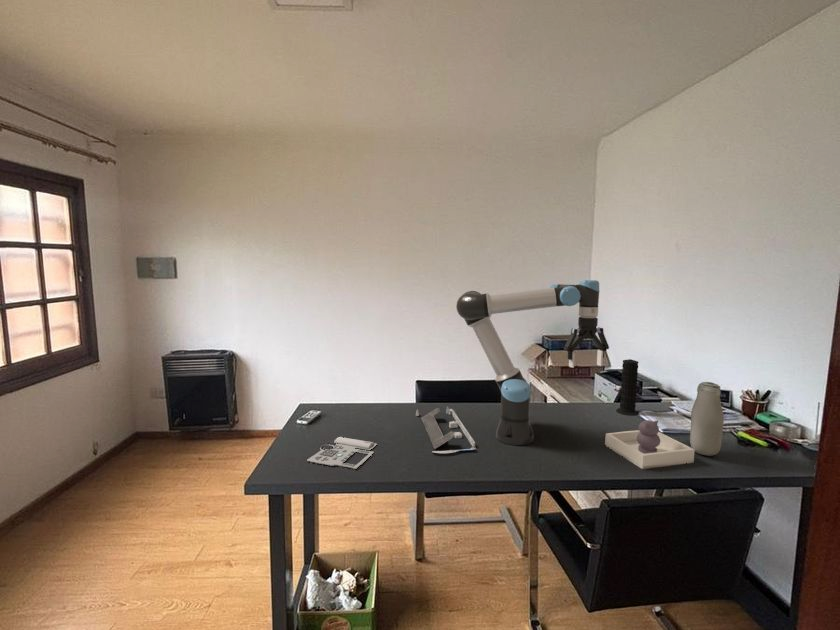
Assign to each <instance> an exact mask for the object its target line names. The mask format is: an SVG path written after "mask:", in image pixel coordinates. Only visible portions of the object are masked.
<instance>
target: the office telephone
mask: <svg viewBox="0 0 840 630" xmlns="http://www.w3.org/2000/svg"><path fill="white" fill-rule="evenodd" d="M333 441H334V443H336V445H335V446H334V447H333V449H330V450H329V449H325V450H322V449H321V450H319V451H318V452H316V453H314V455H312V456H310V457H309V458H308V459H306V460H307V461H310V462H315V463H319V464H325V465H330V466H334V465H338V466H343V467H349V468H353V469H357V468H358V467H359V466H360V465H362V464H363V463H364V462H365V461H366V460H367V459H368V458H369V457H370V456H371V457H373V455H374V454H375V452H374V451H373V450H374V449H375V448H376V447H377V446H378V443H376V442H373V441H366V440H361V439H356V438H355V439H354V438H348V437H344V438H343V436H339V437H337V438H335V439H334V440H333ZM337 443H338V444H337ZM376 445H377V446H376ZM375 446H376V447H375ZM374 447H375V448H374ZM355 448H359V449H355ZM373 448H374V449H373ZM360 449H365V450H360ZM371 449H373V450H371ZM366 450H371V451H366ZM355 452H359V453H363V454H362V455H364V454H368V455H365V456H364V458H362V459H361V460H360V461H359V462H357V464H353V463H349V462H348V463H347V461H348V460H349V459H350V458H351V457H350V456H351V455H353V454H354V453H355ZM373 453H374V454H373ZM355 454H356V453H355ZM355 454H354V455H355ZM372 454H373V455H372ZM354 455H353V456H354ZM349 457H350V458H349ZM371 457H370V458H371ZM348 458H349V459H348ZM370 458H369V459H370ZM347 459H348V460H347ZM369 459H368V460H369ZM346 460H347V461H346ZM368 460H367V461H368ZM345 461H346V462H345ZM367 461H366V462H367ZM343 462H345V463H343ZM366 462H365V463H366ZM365 463H364V464H365ZM364 464H363V465H364ZM363 465H362V466H363ZM360 467H361V466H360ZM360 467H359V468H360ZM359 468H358V469H359ZM358 469H357V470H358Z"/></svg>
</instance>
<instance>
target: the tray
mask: <svg viewBox="0 0 840 630" xmlns="http://www.w3.org/2000/svg"><path fill="white" fill-rule="evenodd" d="M638 433H640V431H639V429H638V430H628V431H627V430H626V431H625V430H624V431H617V432H607V433H605V440H604V445H606V446H605V447H607V448H608V447H609V450H611V449H612V450H611V451H613V452H615V453H616V454H618V455H619V456H621V457H622V456H623V459H626V460H627V461H629V462H630V463H632V464H634V465H635V466H637V467H638V468H640V469H641V470H646V469H647V470H648V469H655V468H662V467H663V468H664V467H671V466H677V465H685V464H686V463H687V464H693V463H694V462H695V453H696V452H695V449H693V448H692V447H691V446H688V445H687V444H684V443H682V442H680V441H678V440H676V439H674V438H672V437H670V436H669V435H666V434H664V433H662V432H660V431H659V432H658V434H657V435H658V436H659V438H660V444H659V446H657V447H655V448H657V452H655V453H647V454H644V453H641V452H640V451H639V450H638V446H639V445H640V444H639V443H638V442H637V439H636V437H637V435H638ZM687 464H686V465H687Z"/></svg>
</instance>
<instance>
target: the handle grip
mask: <svg viewBox="0 0 840 630" xmlns="http://www.w3.org/2000/svg"><path fill="white" fill-rule="evenodd" d="M621 365H622V366H621V367H622V370H621V383H620V387H621V388H620V398H619V399H620V400H619V401H620V403H619V407H618V408H616V410H615V412H617V413H618V414H620V415H622V416H624V415H625V416H630V417H631V416H638V415H639V411H637V410H636V404H637V403H636V401H637V391H638V375H639V372H638V371H639V361H638V360H635V359H630V358H629V359H623V360H622V364H621Z"/></svg>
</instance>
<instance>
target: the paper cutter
mask: <svg viewBox="0 0 840 630" xmlns="http://www.w3.org/2000/svg"><path fill="white" fill-rule="evenodd" d="M445 411H446V412H445V413H446V414H447V415H449V416H452V417H453V418H454V419H452V421H449V422H448V423H449V424H448V426H449V429H458V428H460V429H461V431H462V432H463V434H464V435H465V437H466V439H467V440H468V442H469V444H470V445H471V446H472V447H470V448H466V449H462V451H473V450H474V451H475V450H477V447H476V442H475V440H474V438H473V436H471V434H470V433H469V431H468V429H466V427H465V425H464V424H463V422H462V421H461V420H460V418H459V416H458V415H457V413H456V412H455V410H454V409H453V408H449V406H447V407H446V409H445ZM440 412H441V410H440V408H439V407H436V408H434V409H433V410H431V411H429V412H428V413H426V414H425V415H423V416H421V417H420V418H421V421H422V423H423V426H424V427H425V430H426V433H427V435H428V437H429V440H430V443H431V444H432V447H433V448H434V450H435V451H434V450H433V451H432V452H431V453H435V454H450V453H451V454H452V453H456V452H460V449H449V450H437V451H436V449H437V448H439V447H441V446H442V445H444V444H445V443H447V442H449V441H451V440H452V439H454V438H455V439H462V438H463V434H462V433H461V431H452V430H451V431H449V432H448V433H446V434H443V432H442V430H441V428H440V426H439V424H438V422H437V420H436V418H435V416H436V415H437V414H438V413H440ZM416 416H420V413H419V410H418V409H416V412H415V417H416ZM454 420H455V421H454Z"/></svg>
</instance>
